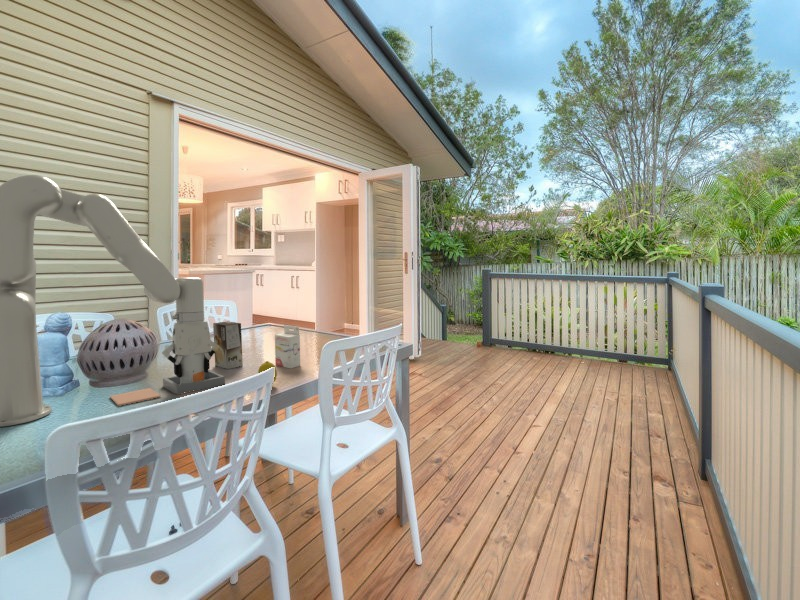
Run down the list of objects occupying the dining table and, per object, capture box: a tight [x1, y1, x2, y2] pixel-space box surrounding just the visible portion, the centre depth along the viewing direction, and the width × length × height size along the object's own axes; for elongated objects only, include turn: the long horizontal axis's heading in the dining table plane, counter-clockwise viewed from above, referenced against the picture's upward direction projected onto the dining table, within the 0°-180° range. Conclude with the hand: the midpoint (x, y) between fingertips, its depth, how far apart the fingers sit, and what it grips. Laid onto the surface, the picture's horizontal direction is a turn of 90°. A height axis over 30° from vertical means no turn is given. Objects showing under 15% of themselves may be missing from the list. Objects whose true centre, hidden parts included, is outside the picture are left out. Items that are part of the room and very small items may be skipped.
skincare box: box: [179, 348, 205, 385], centre depth 126 cm, size 6×4×12 cm
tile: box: [109, 387, 161, 407], centre depth 115 cm, size 10×10×1 cm
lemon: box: [257, 360, 278, 383], centre depth 125 cm, size 6×6×8 cm
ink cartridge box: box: [274, 324, 301, 369], centre depth 150 cm, size 9×5×15 cm, turn 58°
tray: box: [162, 369, 226, 396], centre depth 127 cm, size 14×12×2 cm
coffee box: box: [212, 320, 244, 370], centre depth 150 cm, size 9×6×16 cm
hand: (192, 373), depth 126 cm, fingers closed on skincare box, 7 cm apart
